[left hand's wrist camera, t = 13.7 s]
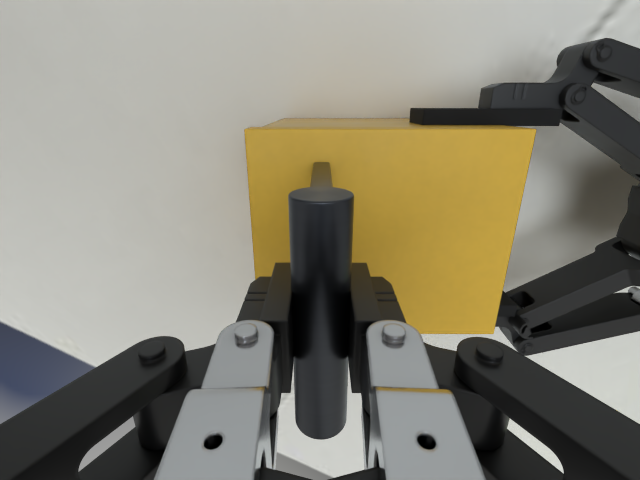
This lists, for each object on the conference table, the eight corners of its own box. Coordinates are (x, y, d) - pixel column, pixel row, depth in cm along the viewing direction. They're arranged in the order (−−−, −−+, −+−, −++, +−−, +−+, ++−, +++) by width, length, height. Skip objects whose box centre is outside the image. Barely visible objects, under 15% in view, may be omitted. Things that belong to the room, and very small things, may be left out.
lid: (263, 319, 19) (222, 466, 11) (249, 126, 16) (177, 150, 8) (483, 320, 19) (593, 468, 11) (521, 127, 15) (719, 150, 8)
